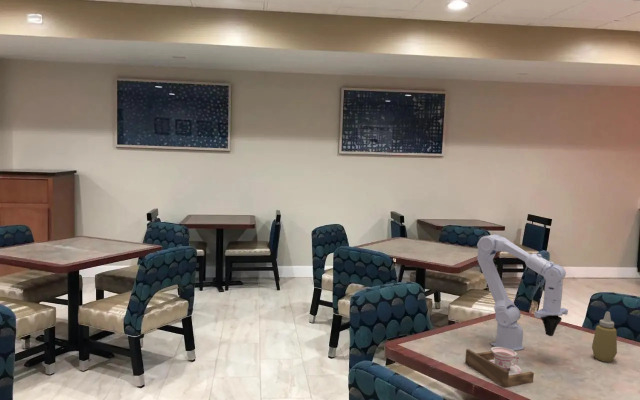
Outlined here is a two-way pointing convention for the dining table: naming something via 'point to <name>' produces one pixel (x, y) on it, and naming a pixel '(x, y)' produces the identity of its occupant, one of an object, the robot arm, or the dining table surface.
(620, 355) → the dining table surface
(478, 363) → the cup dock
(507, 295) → the robot arm
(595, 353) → the squeeze bottle
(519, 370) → the teacup
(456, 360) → the dining table surface
